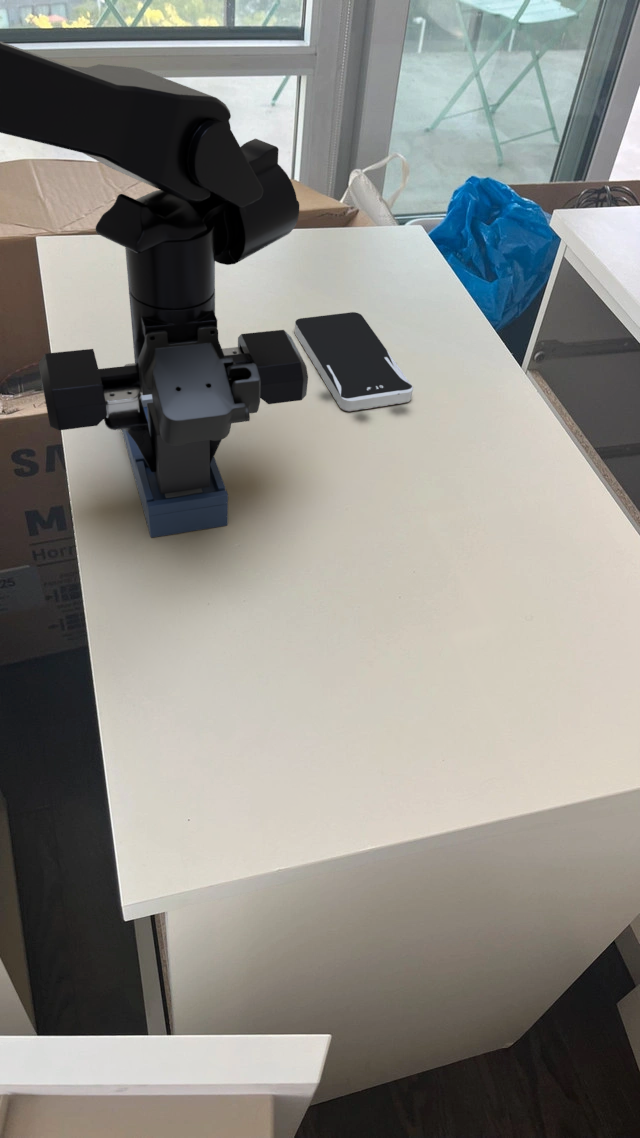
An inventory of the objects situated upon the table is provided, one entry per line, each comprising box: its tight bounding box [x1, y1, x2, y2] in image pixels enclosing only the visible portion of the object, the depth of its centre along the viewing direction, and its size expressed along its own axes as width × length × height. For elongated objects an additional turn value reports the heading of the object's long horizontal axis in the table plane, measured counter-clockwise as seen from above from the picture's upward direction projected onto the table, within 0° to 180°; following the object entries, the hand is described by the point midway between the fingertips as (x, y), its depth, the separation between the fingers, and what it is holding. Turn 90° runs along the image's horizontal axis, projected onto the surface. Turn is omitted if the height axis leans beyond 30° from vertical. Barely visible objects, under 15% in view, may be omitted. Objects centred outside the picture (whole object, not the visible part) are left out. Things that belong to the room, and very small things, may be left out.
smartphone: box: [294, 311, 414, 412], centre depth 87 cm, size 8×1×15 cm
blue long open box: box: [121, 394, 229, 539], centre depth 75 cm, size 6×20×4 cm, turn 18°
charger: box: [147, 402, 210, 494], centre depth 67 cm, size 4×4×6 cm
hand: (179, 465), depth 68 cm, fingers closed on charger, 4 cm apart
